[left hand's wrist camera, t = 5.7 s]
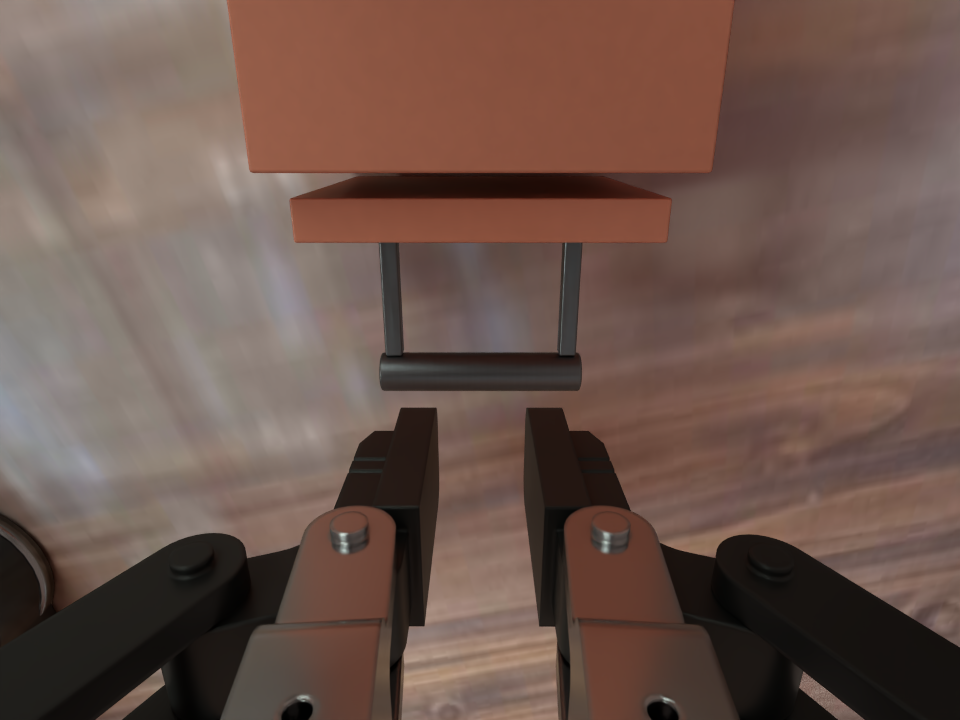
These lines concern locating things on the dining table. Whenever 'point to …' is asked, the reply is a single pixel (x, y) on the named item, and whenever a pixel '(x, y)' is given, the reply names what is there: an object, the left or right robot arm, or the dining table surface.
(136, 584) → the left robot arm
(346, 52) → the cabinet
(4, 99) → the dining table surface
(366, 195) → the drawer
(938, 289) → the dining table surface
